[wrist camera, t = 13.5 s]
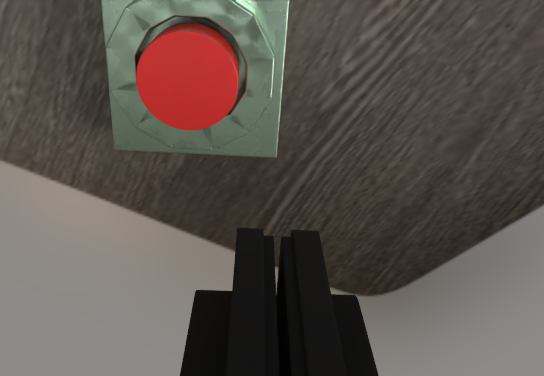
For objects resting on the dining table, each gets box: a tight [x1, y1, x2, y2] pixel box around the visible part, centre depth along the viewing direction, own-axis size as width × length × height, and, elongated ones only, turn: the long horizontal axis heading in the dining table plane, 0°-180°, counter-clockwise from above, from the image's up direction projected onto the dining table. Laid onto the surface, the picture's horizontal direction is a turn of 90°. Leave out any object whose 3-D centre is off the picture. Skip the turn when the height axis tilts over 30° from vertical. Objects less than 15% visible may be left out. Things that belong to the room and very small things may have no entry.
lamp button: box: [136, 23, 240, 130], centre depth 20 cm, size 4×4×2 cm
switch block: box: [101, 0, 290, 158], centre depth 22 cm, size 9×8×4 cm
